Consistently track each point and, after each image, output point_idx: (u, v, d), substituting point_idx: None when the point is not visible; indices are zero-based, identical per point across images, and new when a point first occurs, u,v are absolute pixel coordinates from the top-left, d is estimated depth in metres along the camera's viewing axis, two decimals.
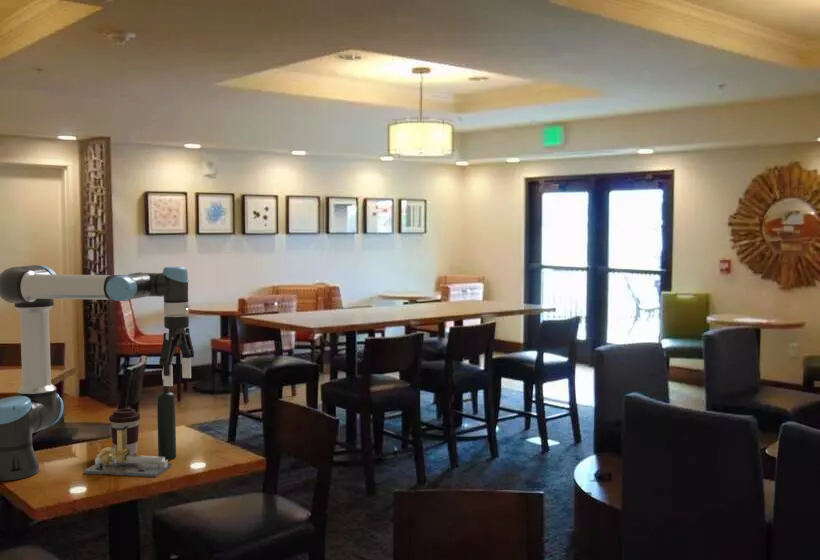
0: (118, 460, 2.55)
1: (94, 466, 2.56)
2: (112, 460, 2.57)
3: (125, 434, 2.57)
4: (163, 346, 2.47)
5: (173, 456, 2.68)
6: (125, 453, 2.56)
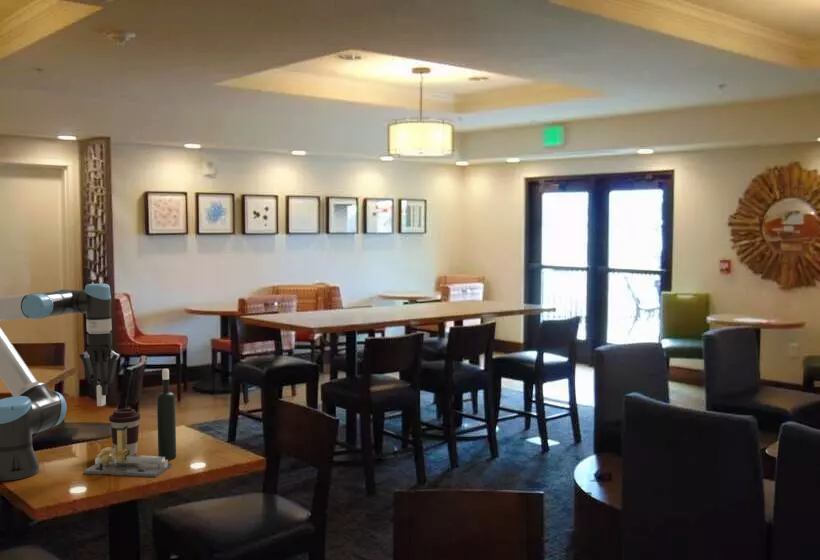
0: (118, 460, 2.55)
1: (94, 466, 2.56)
2: (112, 460, 2.57)
3: (125, 434, 2.57)
4: None
5: (173, 456, 2.68)
6: (125, 453, 2.56)
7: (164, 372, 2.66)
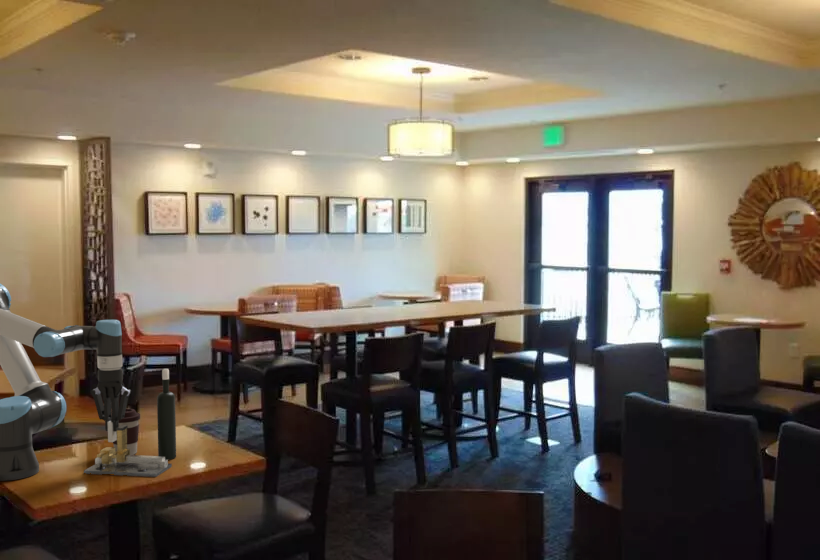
0: (118, 460, 2.55)
1: (94, 466, 2.56)
2: (112, 460, 2.57)
3: (125, 434, 2.57)
4: None
5: (173, 456, 2.68)
6: (125, 453, 2.56)
7: (164, 372, 2.66)
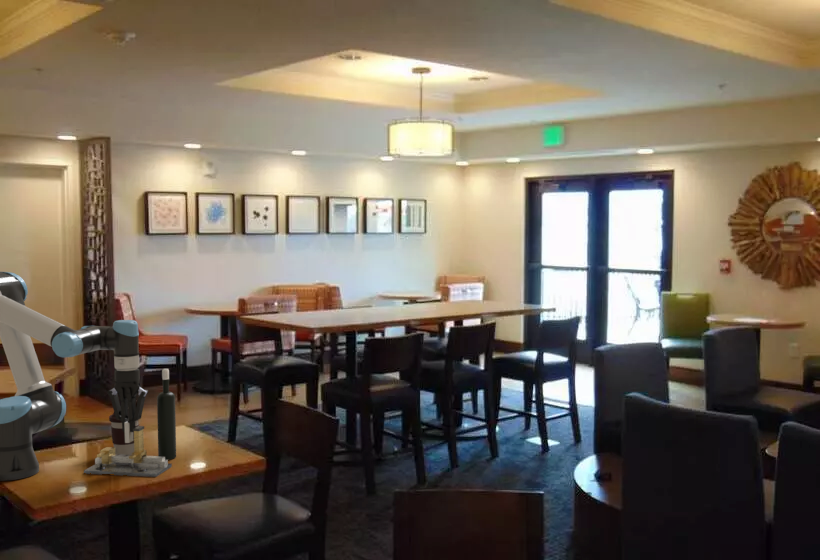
0: (135, 461, 2.54)
1: (94, 466, 2.56)
2: (112, 460, 2.57)
3: (142, 434, 2.57)
4: None
5: (173, 456, 2.68)
6: (142, 454, 2.55)
7: (164, 372, 2.66)
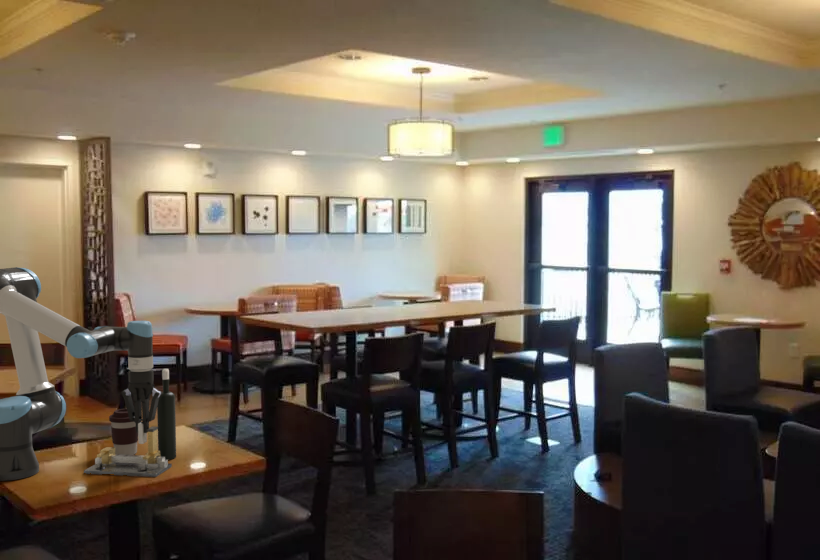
0: (149, 461, 2.54)
1: (94, 466, 2.56)
2: (112, 460, 2.57)
3: (156, 435, 2.56)
4: None
5: (173, 456, 2.68)
6: (156, 454, 2.55)
7: (164, 372, 2.66)
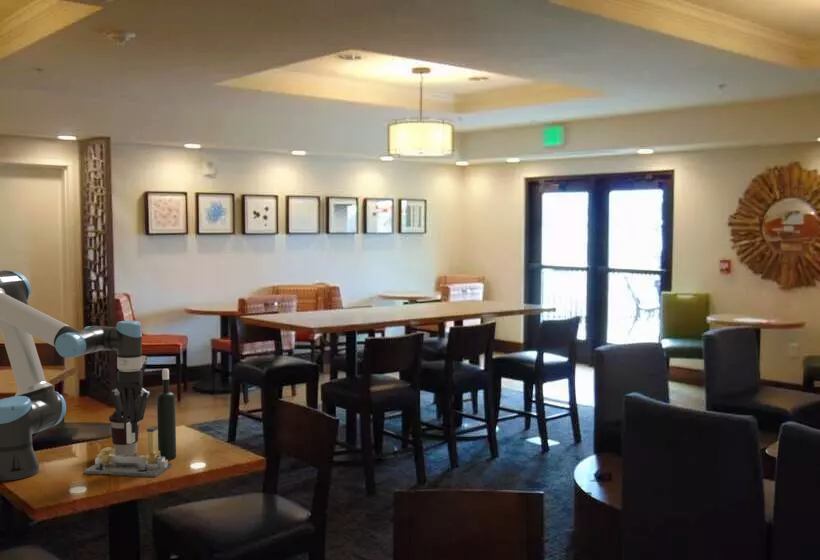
0: (149, 461, 2.54)
1: (94, 466, 2.56)
2: (112, 460, 2.57)
3: (156, 435, 2.56)
4: None
5: (173, 456, 2.68)
6: (156, 454, 2.55)
7: (164, 372, 2.66)
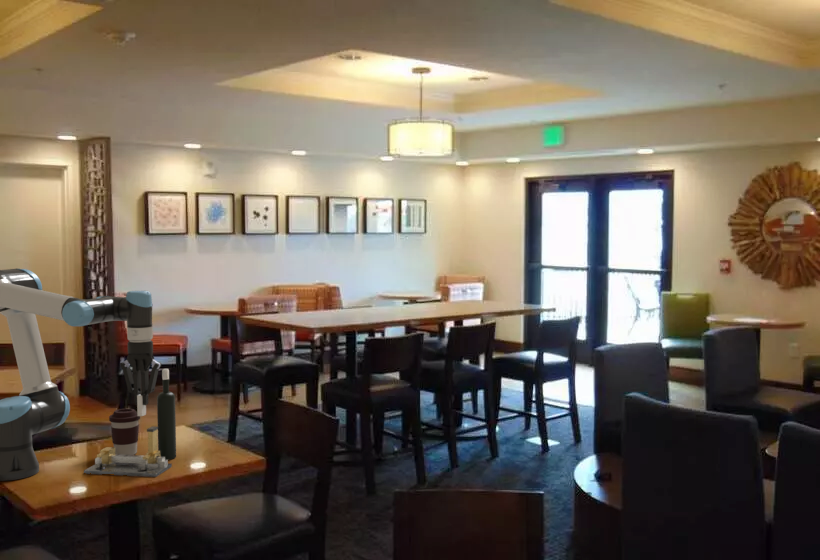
0: (149, 461, 2.54)
1: (94, 466, 2.56)
2: (112, 460, 2.57)
3: (156, 435, 2.56)
4: None
5: (173, 456, 2.68)
6: (156, 454, 2.55)
7: (164, 372, 2.66)
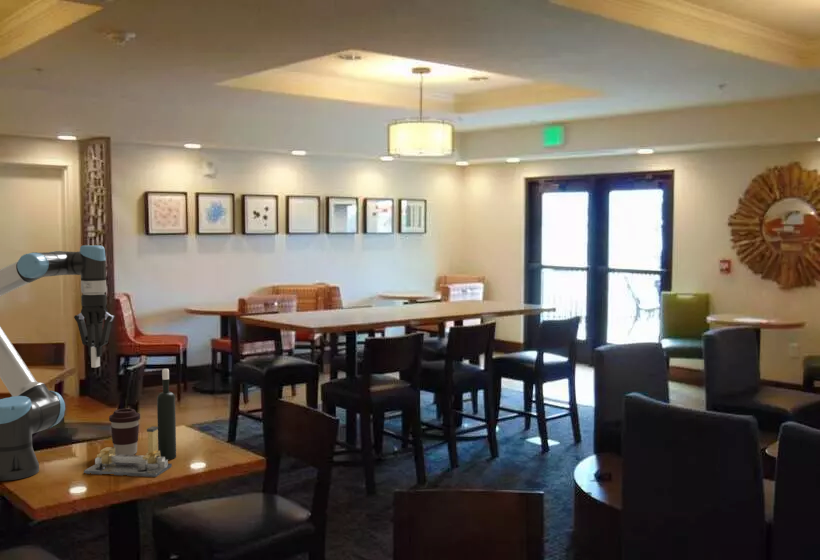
0: (149, 461, 2.54)
1: (94, 466, 2.56)
2: (112, 460, 2.57)
3: (156, 435, 2.56)
4: None
5: (173, 456, 2.68)
6: (156, 454, 2.55)
7: (164, 372, 2.66)
